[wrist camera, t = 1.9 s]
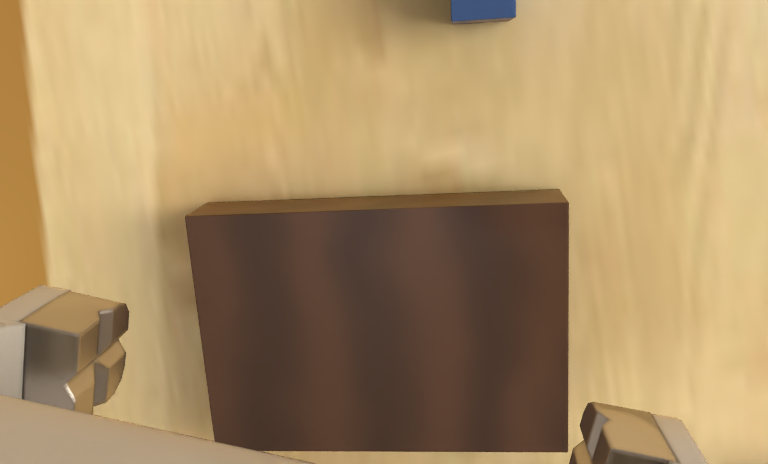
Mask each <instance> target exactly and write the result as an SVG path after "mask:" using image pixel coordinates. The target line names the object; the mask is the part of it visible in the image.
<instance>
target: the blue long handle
mask: <svg viewBox="0 0 768 464" xmlns="http://www.w3.org/2000/svg"><path fill="white" fill-rule="evenodd" d="M515 17H516V0H451V21H452V24H468V23H483V22H498V21H510V20H512V19H513V18H515Z"/></svg>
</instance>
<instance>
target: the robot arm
mask: <svg viewBox="0 0 768 464" xmlns="http://www.w3.org/2000/svg"><path fill="white" fill-rule="evenodd" d="M128 320H129V311H128V308H127V306H126V304H124V303H120V302H115V301H111V300H106V299H102V298H98V297H93V296H89V295H85V294H80V293H76V292H71V291H70V290H66V289H61V288H55V287H50V286H44V285H40V286H38V287H36V288H34V289H32V290H31V291H29V292H27V293H25V294H23V295H22V296H20V297H18V298H16V299H15V300H13V301H11V302H9V303H7V304H6V305H4V306H2V307H0V464H315V463H311V462H306V461H301V460H297V459H292V458H288V457H283V456H279V455H274V454H270V453H265V452H260V451H256V450H251V449H247V448H242V447H238V446H233V445H229V444H224V443H219V442H215V441H210V440H206V439H201V438H197V437H192V436H188V435H183V434H178V433H174V432H169V431H165V430H160V429H156V428H151V427H147V426H142V425H137V424H133V423H128V422H124V421H119V420H115V419H110V418H106V417H101V416H96V415H93V406H96V405H100V404H103V403H106V402H107V401H108V400H109V399H110V398H111V396H112V395H113V394H114V393H115V391H116V389H117V387H118V385H119V383H120V381H121V378H122V374H123V370H124V366H125V357H126V352H125V350H124V348H123V346H122V345H121V343H120V341H119V338H120V337H121V336H122V335H123V334H124V333H125V332H126V331H127V330H128ZM580 428H581V431H582V434H583V438H584V440H583V441H582V442H581V443H580V444H578V445H577V446H576V447H574V448H573V451H572V455H571V459H570V463H569V464H708V463H707V461H706V459H705V458H704V456H703V455H702V453H701V451H700V450H699V448H698V446H697V445H696V443H695V441H694V440H693V438H692V437H691V435H690V433H689V432H688V430H687V428H686V427H685V425H684V423H683V422H682V420H679V419H677V418H673V417H668V416H662V415H656V414H651V413H650V412H644V411H639V410H634V409H628V408H623V407H618V406H612V405H607V404H602V403H596V402H591V403H588V404H587V406H586V409H585V411H584V413H583V416H582V420H581V423H580Z"/></svg>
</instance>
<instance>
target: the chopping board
mask: <svg viewBox="0 0 768 464" xmlns="http://www.w3.org/2000/svg"><path fill="white" fill-rule="evenodd" d="M185 220H186V228H187V235H188V243H189V251H190V258H191V266H192V273H193V281H194V288H195V296H196V303H197V311H198V318H199V326H200V333H201V341H202V349H203V356H204V364H205V371H206V379H207V386H208V394H209V401H210V409H211V416H212V424H213V431H214V439H215V442H219V443H224V444H229V445H233V446H238V447H242V448H247V449H251V450H256V451H407V452H568V295H569V203H568V201H567V200H566V198H565V197H564V195H563V194H562V192H561V191H560V189H552V190H526V191H500V192H474V193H448V194H422V195H396V196H370V197H345V198H319V199H293V200H267V201H241V202H215V203H207V204H205V205H203V206H202V207H200V208H198V209H197V210H195V211H193V212H192V213H190V214H188V215H187V216H185Z"/></svg>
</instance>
